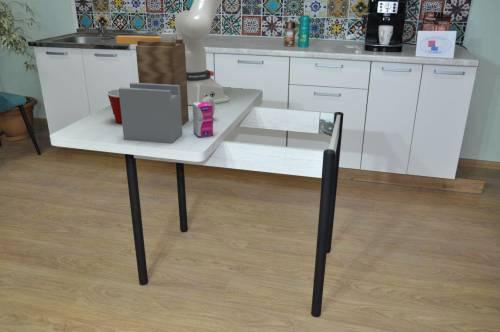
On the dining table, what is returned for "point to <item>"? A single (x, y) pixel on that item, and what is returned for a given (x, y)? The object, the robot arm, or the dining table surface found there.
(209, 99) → the donut
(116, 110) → the plastic cup
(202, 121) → the supplement box
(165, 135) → the block
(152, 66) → the walnut post
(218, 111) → the dining table surface
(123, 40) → the orange squared block
